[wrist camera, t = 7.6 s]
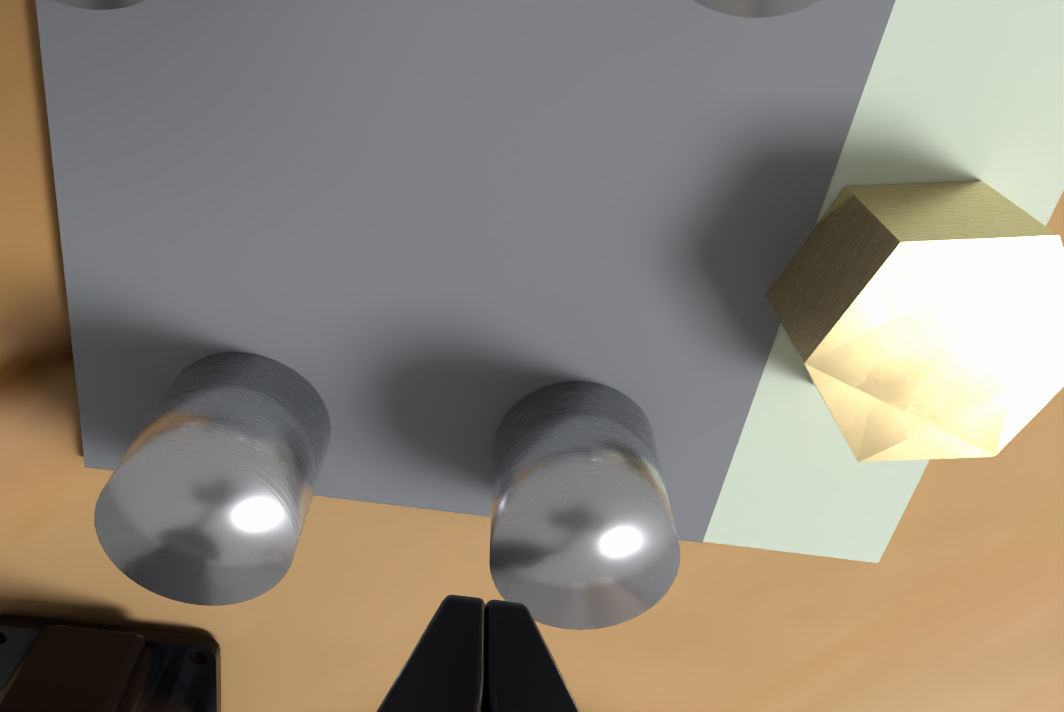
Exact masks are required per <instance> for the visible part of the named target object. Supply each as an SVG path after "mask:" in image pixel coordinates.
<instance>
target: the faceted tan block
mask: <svg viewBox="0 0 1064 712" xmlns="http://www.w3.org/2000/svg"><path fill="white" fill-rule="evenodd" d="M766 297H767V299H768V301H769V303H770V304H771V306H772V308H773V310H774V312H775V314H776V315H777V317H778V319H779V321H780V323H781V325H782V326H783V328H784V330H785V332H786V334H787V336H788V337H789V339H790V341H791V343H792V345H793V347H794V348H795V350H796V352H797V354H798V356H799V358H800V359H801V361H802V363H803V365H804V367H805V369H806V370H807V372H808V374H809V376H810V378H811V380H812V381H813V383H814V385H815V387H816V389H817V390H818V392H819V394H820V396H821V397H822V399H823V401H824V403H825V404H826V406H827V408H828V410H829V412H830V413H831V415H832V417H833V419H834V420H835V422H836V424H837V426H838V427H839V429H840V431H841V433H842V435H843V436H844V438H845V440H846V442H847V443H848V445H849V447H850V449H851V450H852V452H853V454H854V456H855V458H856V459H857V461H858V462H876V461H900V460H923V459H947V458H970V457H994V456H996V455H997V454H998V453H999V452H1000V451H1001V450H1002V449H1003V448H1004V447H1005V446H1006V445H1007V444H1008V442H1009V441H1010V440H1011V439H1012V438H1013V437H1014V436H1015V435H1016V434H1017V433H1018V432H1019V431H1020V430H1021V429H1022V428H1023V427H1024V426H1025V425H1026V424H1027V423H1028V422H1029V421H1030V420H1031V419H1032V418H1033V417H1034V416H1035V415H1036V414H1037V413H1038V412H1039V411H1040V410H1041V409H1042V408H1043V407H1044V406H1045V405H1046V404H1047V403H1048V402H1049V401H1050V400H1051V398H1052V397H1053V396H1054V395H1055V394H1056V393H1057V392H1058V391H1059V390H1060V389H1061V388H1062V387H1063V386H1064V249H1063V246H1062V243H1061V240H1060V237H1059V235H1058V234H1056V233H1055V232H1053V231H1052V230H1051V229H1049V228H1048V227H1046V226H1045V225H1043V224H1042V223H1041V222H1039V221H1038V220H1036V219H1035V218H1034V217H1032V216H1031V215H1029V214H1028V213H1027V212H1025V211H1024V210H1022V209H1021V208H1020V207H1018V206H1017V205H1015V204H1014V203H1013V202H1011V201H1010V200H1008V199H1007V198H1006V197H1004V196H1003V195H1001V194H1000V193H999V192H997V191H996V190H994V189H993V188H992V187H990V186H989V185H987V184H986V183H985V182H983V181H959V182H935V183H911V184H887V185H863V186H845V188H844V189H843V190H842V192H841V193H840V195H839V196H838V197H837V199H836V200H835V201H834V203H833V204H832V205H831V207H830V208H829V210H828V211H827V212H826V214H825V215H824V216H823V218H822V219H821V220H820V222H819V223H818V224H817V226H816V227H815V229H814V230H813V231H812V233H811V234H810V235H809V237H808V238H807V239H806V241H805V242H804V244H803V245H802V246H801V248H800V249H799V250H798V252H797V253H796V254H795V256H794V257H793V258H792V260H791V261H790V263H789V264H788V265H787V267H786V268H785V269H784V271H783V272H782V273H781V275H780V276H779V278H778V279H777V280H776V282H775V283H774V284H773V286H772V287H771V288H770V290H769V291H768V292H767V294H766Z"/></svg>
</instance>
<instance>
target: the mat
mask: <svg viewBox="0 0 1064 712" xmlns="http://www.w3.org/2000/svg"><path fill="white" fill-rule="evenodd" d="M35 2H36V11H37V21H38V30H39V39H40V49H41V58H42V68H43V77H44V87H45V96H46V105H47V115H48V124H49V134H50V143H51V152H52V162H53V171H54V181H55V190H56V199H57V209H58V218H59V228H60V237H61V247H62V256H63V265H64V275H65V284H66V294H67V303H68V312H69V322H70V331H71V341H72V350H73V359H74V369H75V378H76V388H77V397H78V407H79V416H80V425H81V435H82V444H83V454H84V463H85V467H88V468H96V469H104V470H112V471H115V470H116V468H117V467H118V465H119V463H120V462H121V460H122V459H123V457H124V456H125V454H126V453H127V451H128V449H129V448H130V446H131V445H132V443H133V442H134V440H135V439H136V437H137V435H138V434H139V432H140V431H141V429H142V428H143V426H144V425H145V423H146V421H147V420H148V418H149V417H150V415H151V414H152V412H153V411H154V409H155V407H156V406H157V404H158V403H159V401H160V400H161V398H162V397H163V395H164V393H165V392H166V390H167V389H168V387H169V386H170V384H171V383H172V381H173V379H174V378H175V377H176V376H177V375H178V374H179V372H181V371H182V370H183V369H184V368H185V367H187V366H188V365H190V364H191V363H193V362H195V361H197V360H199V359H201V358H204V357H207V356H210V355H214V354H219V353H226V352H242V353H251V354H256V355H261V356H264V357H267V358H271V359H273V360H276V361H278V362H280V363H283V364H284V365H286V366H288V367H290V368H292V369H293V370H294V371H296V372H297V373H299V374H300V375H301V376H303V377H304V378H305V379H306V380H307V381H308V382H309V383H310V384H311V385H312V386H313V387H314V388H315V390H316V391H317V392H318V394H319V395H320V397H321V398H322V400H323V402H324V404H325V406H326V408H327V411H328V414H329V418H330V424H331V436H330V443H329V446H328V449H327V452H326V455H325V458H324V462H323V465H322V468H321V471H320V474H319V478H318V481H317V484H316V487H315V490H314V493H313V495H316V496H325V497H333V498H341V499H349V500H357V501H365V502H374V503H382V504H390V505H398V506H406V507H415V508H423V509H431V510H439V511H447V512H455V513H464V514H472V515H480V516H488V517H491V512H492V486H493V461H494V443H495V436H496V433H497V429H498V427H499V425H500V423H501V421H502V419H503V418H504V416H505V415H506V413H507V412H508V411H509V410H510V409H511V407H512V406H513V405H515V404H516V403H517V402H518V401H519V400H520V399H522V398H523V397H525V396H526V395H528V394H529V393H531V392H533V391H535V390H537V389H540V388H542V387H545V386H548V385H552V384H556V383H561V382H568V381H585V382H593V383H598V384H602V385H605V386H609V387H611V388H614V389H616V390H618V391H620V392H622V393H623V394H625V395H626V396H628V397H629V398H631V399H632V400H633V401H634V402H635V403H637V405H638V406H639V407H640V408H641V409H642V410H643V412H644V413H645V415H646V416H647V418H648V420H649V422H650V424H651V427H652V431H653V434H654V439H655V443H656V447H657V452H658V456H659V460H660V465H661V469H662V473H663V478H664V482H665V486H666V491H667V495H668V499H669V504H670V508H671V512H672V517H673V521H674V525H675V530H676V534H677V538H678V540H684V541H692V542H701V543H702V542H711V543H719V544H727V545H735V546H743V547H752V548H760V549H768V550H776V551H784V552H792V553H801V554H809V555H817V556H825V557H833V558H841V559H850V560H858V561H866V562H874V563H878V562H879V560H880V558H881V556H882V554H883V552H884V550H885V548H886V546H887V544H888V542H889V540H890V538H891V536H892V534H893V532H894V530H895V528H896V526H897V524H898V522H899V520H900V518H901V516H902V514H903V512H904V510H905V508H906V506H907V504H908V502H909V500H910V498H911V496H912V494H913V492H914V490H915V488H916V486H917V484H918V482H919V480H920V478H921V476H922V474H923V472H924V470H925V468H926V466H927V464H928V462H929V460H930V459H923V460H900V461H876V462H858V461H857V459H856V458H855V456H854V454H853V452H852V450H851V449H850V447H849V445H848V443H847V442H846V440H845V438H844V436H843V435H842V433H841V431H840V429H839V427H838V426H837V424H836V422H835V420H834V419H833V417H832V415H831V413H830V412H829V410H828V408H827V406H826V404H825V403H824V401H823V399H822V397H821V396H820V394H819V392H818V390H817V389H816V387H815V385H814V383H813V381H812V380H811V378H810V376H809V374H808V372H807V370H806V369H805V367H804V365H803V363H802V361H801V359H800V358H799V356H798V354H797V352H796V350H795V348H794V347H793V345H792V343H791V341H790V339H789V337H788V336H787V334H786V332H785V330H784V328H783V326H782V325H781V323H780V321H779V319H778V317H777V315H776V314H775V312H774V310H773V308H772V306H771V304H770V303H769V301H768V299H767V297H766V294H767V292H768V291H769V290H770V288H771V287H772V286H773V284H774V283H775V282H776V280H777V279H778V278H779V276H780V275H781V273H782V272H783V271H784V269H785V268H786V267H787V265H788V264H789V263H790V261H791V260H792V258H793V257H794V256H795V254H796V253H797V252H798V250H799V249H800V248H801V246H802V245H803V244H804V242H805V241H806V239H807V238H808V237H809V235H810V234H811V233H812V231H813V230H814V229H815V227H816V226H817V224H818V223H819V222H820V220H821V219H822V218H823V216H824V215H825V214H826V212H827V211H828V210H829V208H830V207H831V205H832V204H833V203H834V201H835V200H836V199H837V197H838V196H839V195H840V193H841V192H842V190H843V189H844V188H845V186H863V185H887V184H911V183H935V182H959V181H983V182H985V183H986V184H987V185H989V186H990V187H992V188H993V189H994V190H996V191H997V192H999V193H1000V194H1001V195H1003V196H1004V197H1006V198H1007V199H1008V200H1010V201H1011V202H1013V203H1014V204H1015V205H1017V206H1018V207H1020V208H1021V209H1022V210H1024V211H1025V212H1027V213H1028V214H1029V215H1031V216H1032V217H1034V218H1035V219H1036V220H1038V221H1039V222H1041V223H1042V224H1043V225H1045V226H1046V224H1047V222H1048V220H1049V218H1050V216H1051V214H1052V212H1053V210H1054V208H1055V206H1056V204H1057V202H1058V200H1059V198H1060V196H1061V194H1062V192H1063V190H1064V0H822V1H820V2H818V3H816V4H813V5H811V6H809V7H807V8H804V9H802V10H798V11H795V12H792V13H789V14H785V15H779V16H773V17H763V18H747V17H738V16H731V15H727V14H723V13H720V12H716V11H714V10H711V9H709V8H707V7H704V6H702V5H700V4H698V3H696V2H695V1H693V0H147V1H145V2H142V3H139V4H136V5H133V6H130V7H124V8H118V9H113V10H90V9H80V8H74V7H70V6H65V5H61V4H57V3H54V2H52V1H49V0H35Z"/></svg>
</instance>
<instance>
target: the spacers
mask: <svg viewBox="0 0 1064 712" xmlns="http://www.w3.org/2000/svg"><path fill="white" fill-rule="evenodd" d="M49 1H52V2H54V3H57V4H61V5H65V6H70V7H74V8H80V9H90V10H113V9H118V8H124V7H130V6H133V5H136V4H139V3H142V2H145V1H147V0H49ZM693 1H695V2H696V3H698V4H700V5H702V6H704V7H707V8H709V9H711V10H714V11H716V12H720V13H723V14H727V15H731V16H738V17H747V18H763V17H773V16H779V15H785V14H789V13H792V12H795V11H798V10H802V9H804V8H807V7H809V6H811V5H813V4H816V3H818V2H820V1H822V0H693ZM330 436H331V424H330V418H329V414H328V411H327V408H326V406H325V404H324V402H323V400H322V398H321V397H320V395H319V394H318V392H317V391H316V390H315V388H314V387H313V386H312V385H311V384H310V383H309V382H308V381H307V380H306V379H305V378H304V377H303V376H301V375H300V374H299V373H297V372H296V371H294V370H293V369H292V368H290V367H288V366H286V365H284V364H283V363H280V362H278V361H276V360H273V359H271V358H267V357H264V356H261V355H256V354H251V353H242V352H226V353H219V354H214V355H210V356H207V357H204V358H201V359H199V360H197V361H195V362H193V363H191V364H190V365H188V366H187V367H185V368H184V369H183V370H182V371H181V372H179V374H178V375H177V376H176V377H175V378H174V379H173V381H172V383H171V384H170V386H169V387H168V389H167V390H166V392H165V393H164V395H163V397H162V398H161V400H160V401H159V403H158V404H157V406H156V407H155V409H154V411H153V412H152V414H151V415H150V417H149V418H148V420H147V421H146V423H145V425H144V426H143V428H142V429H141V431H140V432H139V434H138V435H137V437H136V439H135V440H134V442H133V443H132V445H131V446H130V448H129V449H128V451H127V453H126V454H125V456H124V457H123V459H122V460H121V462H120V463H119V465H118V467H117V468H116V470H115V471H114V473H113V474H112V476H111V477H110V479H109V481H108V482H107V484H106V485H105V487H104V488H103V490H102V492H101V493H100V495H99V498H98V500H97V503H96V508H95V528H96V533H97V536H98V539H99V541H100V544H101V545H102V547H103V549H104V551H105V553H106V554H107V555H108V557H109V558H110V560H111V561H112V562H113V563H114V564H115V565H116V566H117V567H118V569H119V570H121V571H122V572H123V573H124V574H125V575H126V576H128V577H129V578H130V579H132V580H133V581H134V582H136V583H137V584H139V585H141V586H142V587H144V588H146V589H148V590H149V591H152V592H154V593H156V594H158V595H161V596H163V597H166V598H169V599H172V600H176V601H180V602H184V603H190V604H196V605H209V606H212V605H228V604H235V603H239V602H244V601H247V600H250V599H253V598H255V597H257V596H259V595H261V594H263V593H265V592H267V591H268V590H270V589H271V588H273V587H274V586H275V585H276V584H277V583H278V582H279V581H280V580H281V579H282V578H283V577H284V575H285V574H286V573H287V571H288V569H289V567H290V566H291V563H292V560H293V557H294V554H295V551H296V548H297V544H298V541H299V538H300V535H301V532H302V528H303V525H304V522H305V519H306V516H307V513H308V509H309V506H310V503H311V500H312V497H313V493H314V490H315V487H316V484H317V481H318V478H319V474H320V471H321V468H322V465H323V462H324V458H325V455H326V452H327V449H328V446H329V443H330ZM679 563H680V549H679V543H678V538H677V534H676V530H675V525H674V521H673V517H672V512H671V508H670V504H669V499H668V495H667V491H666V486H665V482H664V478H663V473H662V469H661V465H660V460H659V456H658V452H657V447H656V443H655V439H654V434H653V431H652V427H651V424H650V422H649V420H648V418H647V416H646V415H645V413H644V412H643V410H642V409H641V408H640V407H639V406H638V405H637V403H635V402H634V401H633V400H632V399H631V398H629V397H628V396H626V395H625V394H623V393H622V392H620V391H618V390H616V389H614V388H611V387H609V386H605V385H602V384H598V383H593V382H585V381H568V382H561V383H556V384H552V385H548V386H545V387H542V388H540V389H537V390H535V391H533V392H531V393H529V394H528V395H526V396H525V397H523V398H522V399H520V400H519V401H518V402H517V403H516V404H515V405H513V406H512V407H511V409H510V410H509V411H508V412H507V413H506V415H505V416H504V418H503V419H502V421H501V423H500V425H499V427H498V429H497V433H496V436H495V443H494V461H493V486H492V512H491V538H490V571H491V575H492V579H493V581H494V584H495V586H496V588H497V590H498V591H499V593H500V594H501V596H502V597H503V598H504V599H505V600H506V601H508V602H517V603H522V604H524V605H525V606H526V607H527V608H528V610H529V611H530V613H531V615H532V617H533V619H534V621H537V622H540V623H542V624H545V625H549V626H553V627H558V628H564V629H576V630H584V629H597V628H604V627H608V626H613V625H616V624H619V623H622V622H625V621H628V620H630V619H632V618H635V617H636V616H638V615H640V614H642V613H644V612H645V611H647V610H648V609H649V608H651V607H652V606H654V605H655V604H656V603H657V602H658V601H659V600H660V599H661V598H662V597H663V596H664V595H665V593H666V592H667V591H668V590H669V588H670V587H671V585H672V583H673V582H674V579H675V577H676V575H677V572H678V568H679Z"/></svg>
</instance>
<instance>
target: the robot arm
mask: <svg viewBox="0 0 1064 712" xmlns="http://www.w3.org/2000/svg"><path fill="white" fill-rule="evenodd" d="M0 712H221V668H220V646H219V644H218V643H217V642H216V641H215V640H214V639H212V638H210V637H208V636H204V635H195V634H186V633H177V632H167V631H158V630H148V629H139V628H129V627H120V626H110V625H101V624H91V623H82V622H72V621H63V620H53V619H44V618H34V617H25V616H15V615H6V614H0ZM377 712H580V710H579V708H578V706H577V704H576V702H575V700H574V698H573V696H572V694H571V692H570V690H569V688H568V686H567V684H566V682H565V680H564V679H563V677H562V675H561V673H560V671H559V669H558V667H557V665H556V663H555V661H554V659H553V657H552V655H551V653H550V651H549V649H548V647H547V645H546V643H545V641H544V639H543V637H542V635H541V633H540V631H539V629H538V627H537V625H536V623H535V621H534V619H533V617H532V615H531V613H530V611H529V610H528V608H527V607H526V606H525V605H524V604H522V603H517V602H508V601H500V600H490V601H488V602H487V604H486V605H485V603H484V601H483V600H482V599H480V598H474V597H466V596H457V595H449V596H447V597H446V598H445V599H444V600H443V601H442V603H441V605H440V606H439V608H438V610H437V611H436V613H435V615H434V616H433V618H432V620H431V621H430V623H429V625H428V626H427V628H426V630H425V631H424V633H423V635H422V636H421V638H420V640H419V641H418V643H417V645H416V646H415V648H414V650H413V652H412V653H411V655H410V657H409V658H408V660H407V662H406V663H405V665H404V667H403V668H402V670H401V672H400V673H399V675H398V677H397V678H396V680H395V682H394V683H393V685H392V687H391V688H390V690H389V692H388V693H387V695H386V697H385V698H384V700H383V702H382V704H381V705H380V707H379V709H378V710H377Z"/></svg>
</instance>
